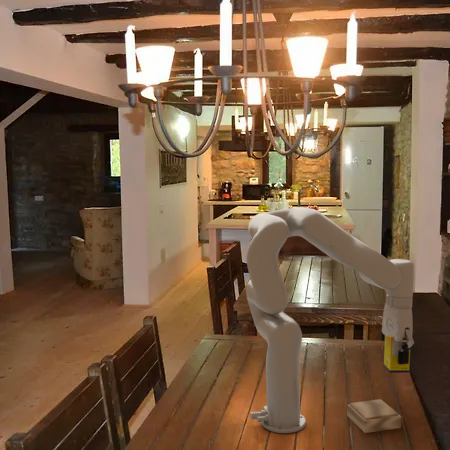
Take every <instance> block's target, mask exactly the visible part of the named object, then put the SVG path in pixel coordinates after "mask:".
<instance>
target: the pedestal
mask: <svg viewBox="0 0 450 450" xmlns="http://www.w3.org/2000/svg"><path fill="white" fill-rule="evenodd" d="M346 407H347V408H346V416H347V417H348V418H349V419H350V420H351V421H352V422H353V423H354V424H355V425H356V426H357V427H358V428H359V429H360V430H361V431H362V432H363V433H364V434H367V433H375V432H382V431H389V430H390V431H391V430H396V429H402V416H401V415H400V414H399V413H398V412H397V411H395V409H393V408H392V407H391V406H389V404H387V403H386V402H385V401H383V400H382V399H380V398H379V399H372V400H364V401H358V402H357V401H356V402H349V403H348V404H347V405H346Z"/></svg>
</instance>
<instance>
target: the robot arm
mask: <svg viewBox="0 0 450 450" xmlns="http://www.w3.org/2000/svg"><path fill="white" fill-rule="evenodd" d="M247 228H248V233H249V236H250V237H251V238H252V239H251V241H250V243H249V246H248V249H247V252H246V265H247V270H248V275H249V278H250V279H249V281H248V283H247V284H246V289H245V296H246V300H247V304H248V307H249V310H250V313H251V316H252V319H253V320H252V321H253V323H254V326H255V327H256V330H257V333H258V334H259V335H260V337H262V338H263V339H264V340H265V342H266V343H267V350H266V356H265V381H266V382H265V383H266V385H265V386H266V388H265V389H266V396H265V397H266V405H264V406H263V409H261V410H260V411H253V412H251V411H250V414H249V417H250V419H251V420H257V421H256V422H257V423H260V422H261V425H262V427H263V428H265V430H267V431H270V432H272V433H276V434H292V433H296V432H299V431H301V430H303V429H304V428H305V427H306V423H307V421H306V418H305V416H304V415H303V414H301V386H300V385H301V382H300V379H301V378H300V377H301V376H300V371H301V370H300V369H301V368H300V364H301V363H300V362H301V361H300V357H301V348H302V342H303V333H302V330H301V327H300V325H299V324H298V322H297V321H296V320H294V318H292V316H289V314H287V313H285V312H284V311H285V309H286V308H287V305H288V303H289V302H288V301H289V299H288V292H287V289H286V286H285V283H284V279H283V276H282V272H281V270H280V269H281V268H280V265H279V264H280V263H279V260H278V259H279V253H280V251H281V249H282V247H283V246H284V244H285V243H286V241H287V239H288V238H290V237H295V236H296V237H297V236H298V237H301V238H303V239H304V240H306V241H307V242H308V243H309V244H311V245H313V246H314V247H316V248H317V249H318V250H320V251H321V252H322V253H323V254H326V255H327V256H328V257H329V258H330V259H332V260H334V261H336V262H338V263H340V264H341V265H344V266H347V267H349V268H351V269H353V270H355V271H357V272H358V274H359V277H360V279H362V281H364V282H365V283H367V284H369V285H372V286H375V287H378V288H380V289H383V290H385V292H386V293H385V303H384V306H383V307H384V308H383V312H382V313H383V314H382V323H381V333H382V334H383V335H384V337H385V336H387V337H388V335H390V336H392V337H393V340H394V341H396V342H398V343H399V348H400V351H398V364H408V363H409V351H410V352H411V348H412V347H413V345H414V344H415V341H414V338H413V331H414V330H413V328H414V327H413V326H414V325H413V323H414V322H413V309H412V308H413V297H414V296H413V295H414V294H413V292H414V274H415V273H414V272H415V271H414V270H415V266H414V262H413V261H412V260H409V259H406V258H405V259H404V258H393V259H388V258H387V257H385V256H384V255H382V254H381V253H380V252H378V251H377V250H375V249H374V248H372V247H371V246H369V245H367V244H366V243H364V242H362V240H360V239H358V238H357V237H354V236H353V235H351V234H350V233H349V232H347V231H346V230H345V229H343V228H342V227H341V226H339V225H338V224H337V223H335V222H334V221H332V219H330V218H329V217H327V216H326V215H325V214H323V213H322V212H320V211H319V210H316V209H314V208H311V207H310V208H309V207H303V206H298V207H297V206H295V207H291V208H290V207H289V208H286V209H285V208H284V209H279V210H278V209H277V210H273V211H264V212H260V213H257V214H256V215H253V217H252V218H251V220H250V221H249V223H248V227H247ZM403 338H406V340H402V339H403ZM404 342H406V344H405V345H404V346H403V344H402V343H404Z"/></svg>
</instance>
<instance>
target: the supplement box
mask: <svg viewBox="0 0 450 450" xmlns="http://www.w3.org/2000/svg"><path fill="white" fill-rule="evenodd" d="M402 340H406V338H403V339H402ZM402 344H403V346H404V345H405V344H406V342H404V343H402ZM398 351H400V348H399V343H398V342H396V341H394V340H393V337H392V336H390V335H388V337H387V336H384V350H383V352H384V355H383V356H384V357H383V367H384V368H385V369H386V370H387V372H388V373H389V374H391V373H393V374H394V373H395V374H397V373H398V374H399V373H402V374H403V373H406V374H407V373H410V360H411V359H410V358H411V350H410V351H409V363H408V364H398Z"/></svg>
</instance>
